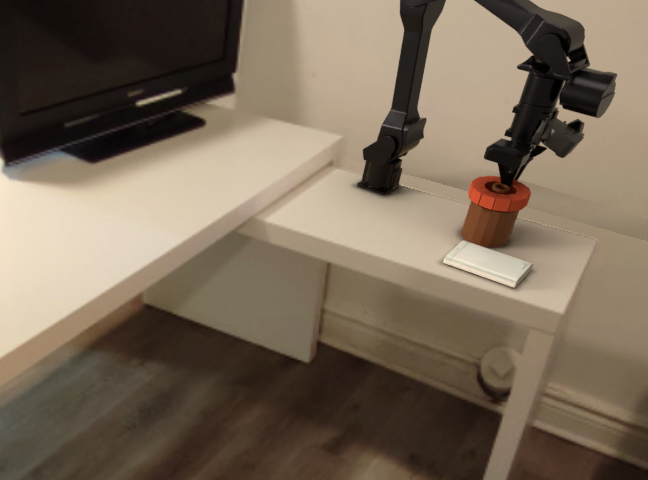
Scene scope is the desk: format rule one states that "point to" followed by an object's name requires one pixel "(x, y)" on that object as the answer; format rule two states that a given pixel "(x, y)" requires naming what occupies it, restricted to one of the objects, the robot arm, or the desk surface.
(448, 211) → the desk surface
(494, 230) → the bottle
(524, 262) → the hard drive
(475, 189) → the orange faceted ring
